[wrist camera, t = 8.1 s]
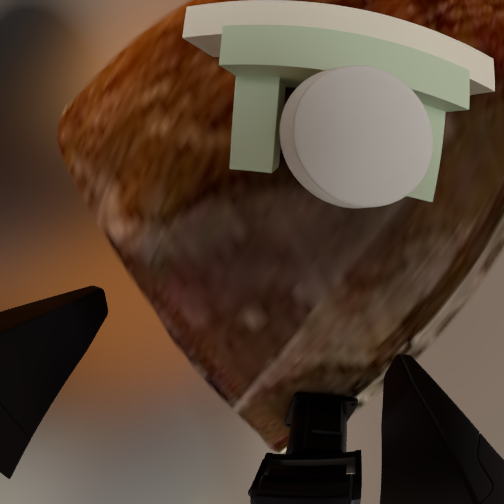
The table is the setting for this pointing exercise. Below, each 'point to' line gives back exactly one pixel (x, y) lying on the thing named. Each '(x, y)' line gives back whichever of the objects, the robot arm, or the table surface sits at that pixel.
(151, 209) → the table surface
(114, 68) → the table surface
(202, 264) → the table surface
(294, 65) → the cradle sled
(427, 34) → the backstop wall
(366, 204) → the supplement bottle
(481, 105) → the table surface
